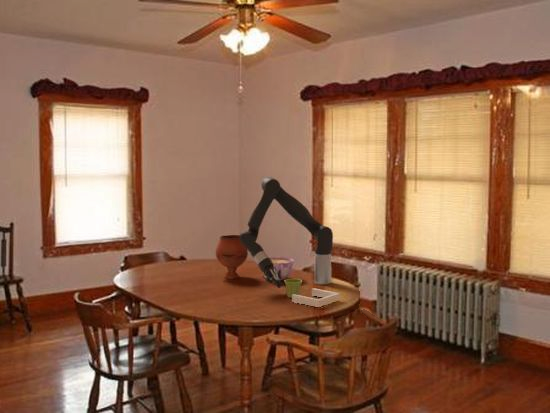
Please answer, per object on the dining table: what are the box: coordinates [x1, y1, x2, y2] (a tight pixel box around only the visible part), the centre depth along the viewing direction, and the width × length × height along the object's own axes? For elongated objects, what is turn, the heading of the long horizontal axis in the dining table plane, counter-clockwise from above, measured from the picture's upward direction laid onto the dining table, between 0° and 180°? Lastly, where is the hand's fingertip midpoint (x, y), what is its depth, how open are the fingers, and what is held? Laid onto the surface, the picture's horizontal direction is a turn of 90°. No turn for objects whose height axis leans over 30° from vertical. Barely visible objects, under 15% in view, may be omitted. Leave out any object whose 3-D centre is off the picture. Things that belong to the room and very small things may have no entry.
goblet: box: [215, 234, 249, 280], centre depth 339 cm, size 19×19×25 cm
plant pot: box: [283, 278, 303, 299], centre depth 294 cm, size 9×9×9 cm
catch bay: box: [291, 287, 340, 308], centre depth 285 cm, size 18×16×4 cm
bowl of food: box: [262, 256, 295, 282], centre depth 335 cm, size 20×20×12 cm
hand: (280, 287), depth 300 cm, fingers closed
